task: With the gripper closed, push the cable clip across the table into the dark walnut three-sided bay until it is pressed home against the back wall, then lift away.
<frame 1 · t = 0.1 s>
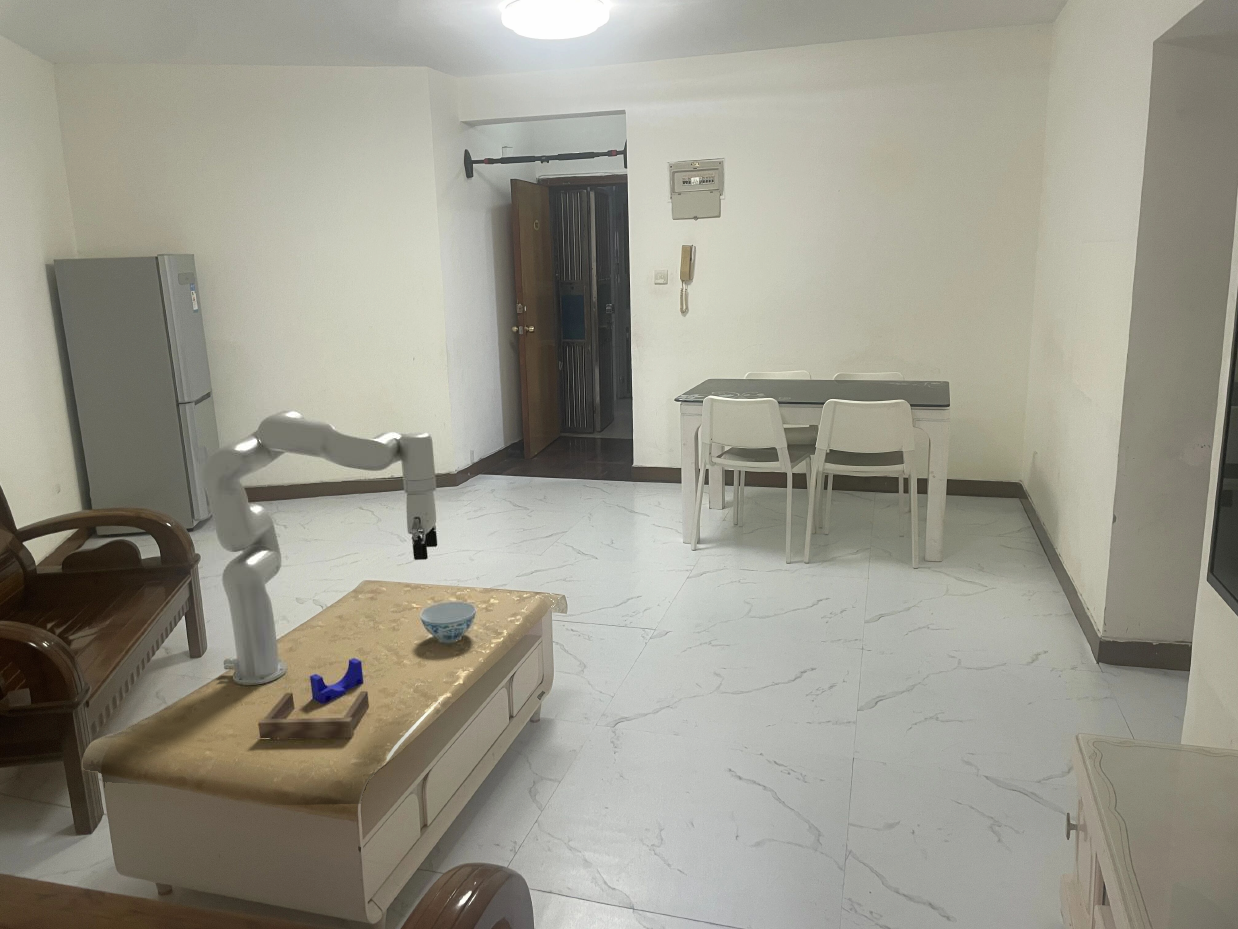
hand: (426, 552, 206), 31 cm above the table, tool pointing down, fingers open, 9 cm apart
chinaware: (450, 638, 233), on the table
cable clip: (340, 693, 204), on the table
dock bay: (318, 721, 190), on the table
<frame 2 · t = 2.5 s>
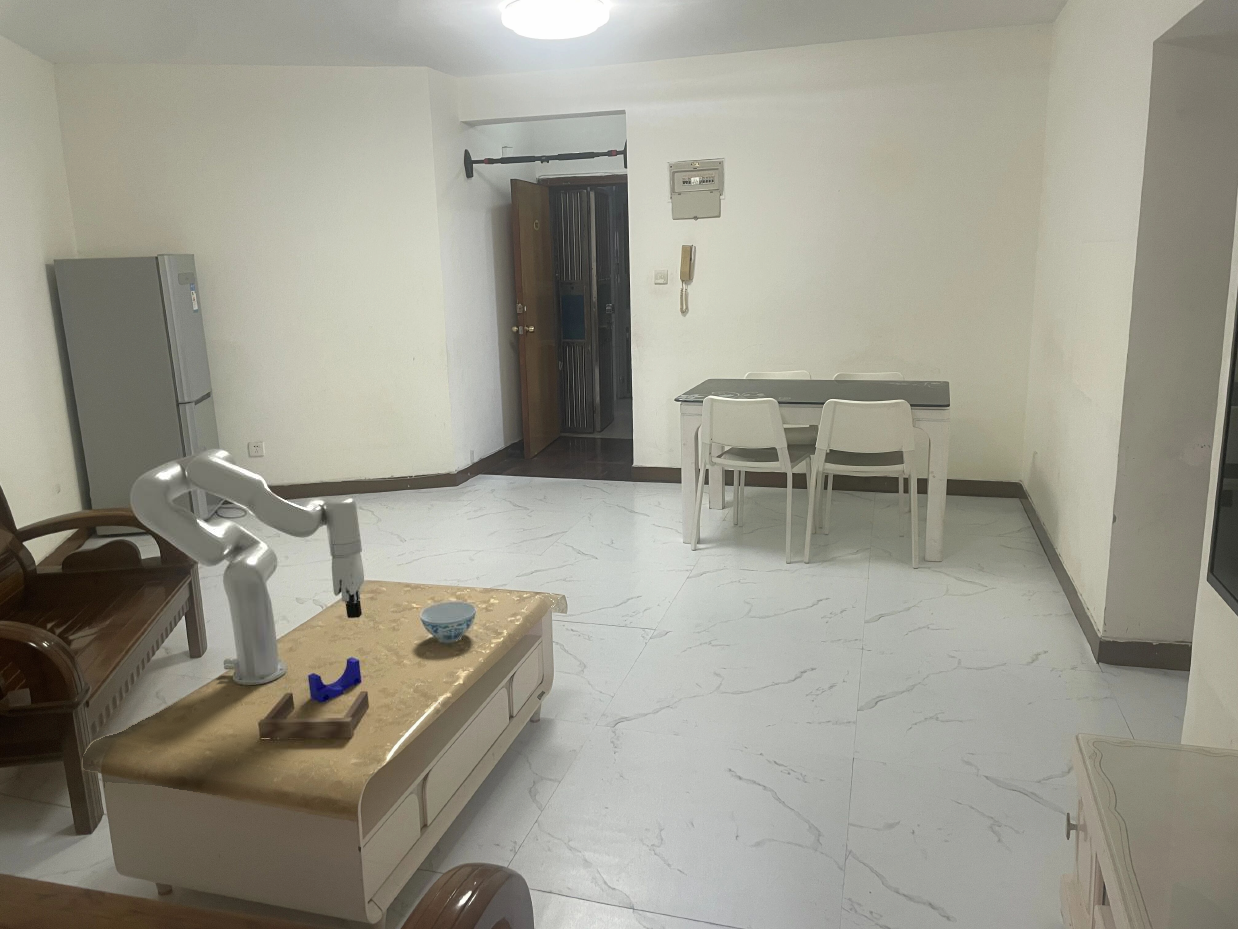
hand: (354, 616, 214), 14 cm above the table, tool pointing down, fingers closed
nothing on the table moved.
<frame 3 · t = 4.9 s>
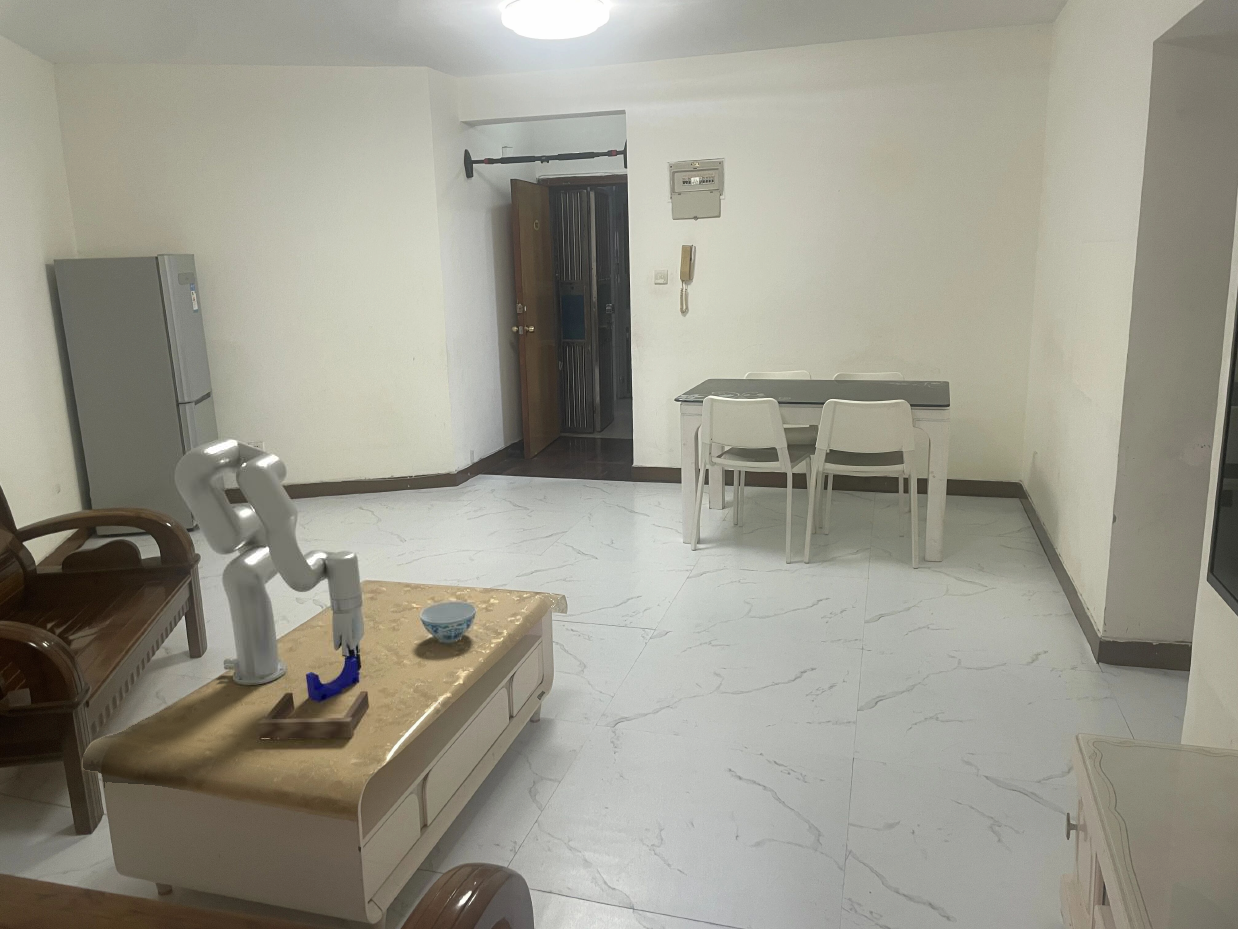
hand: (354, 670, 213), 1 cm above the table, tool pointing down, fingers closed
cable clip: (336, 691, 205), on the table, touching gripper
everything else where it was.
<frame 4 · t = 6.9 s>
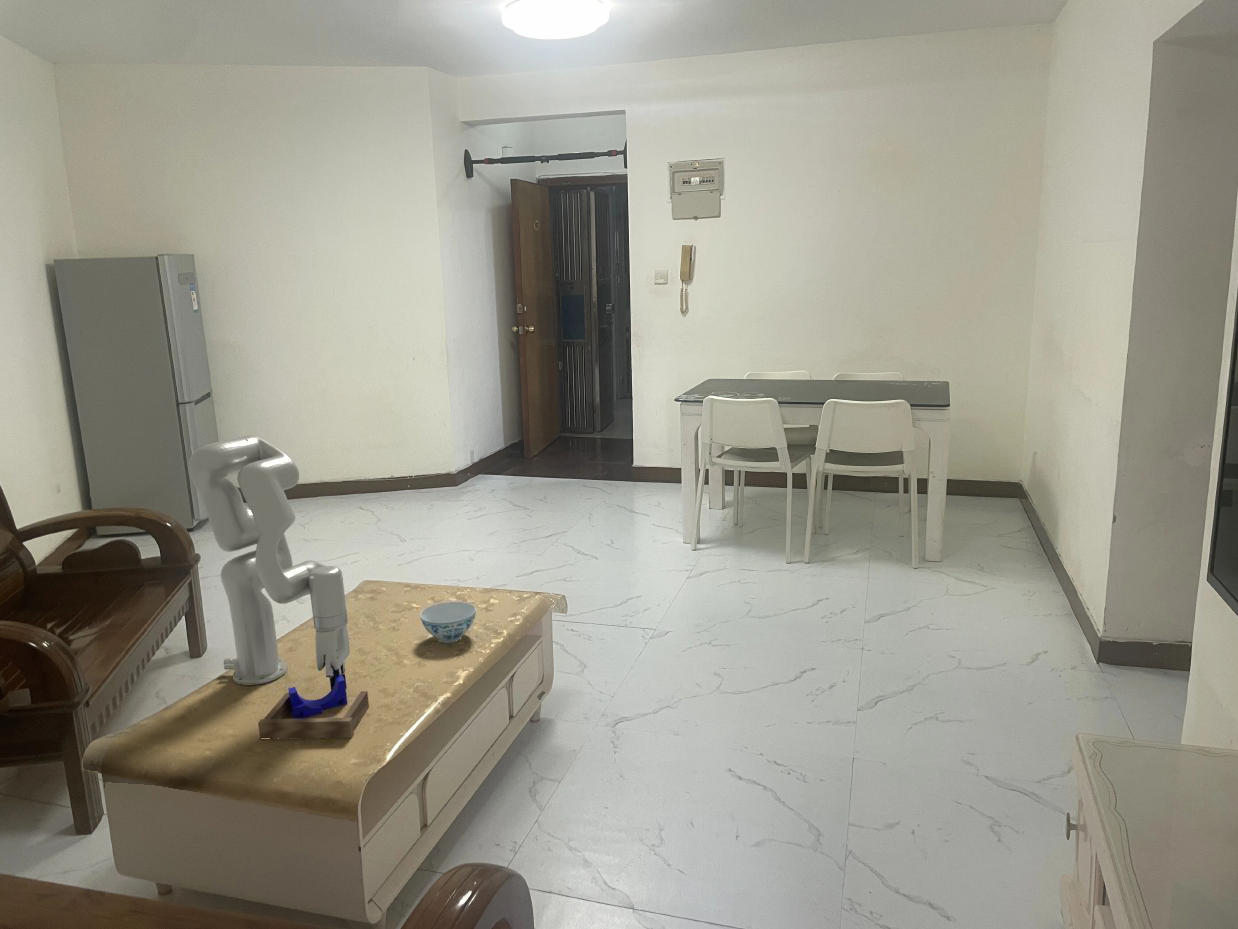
hand: (339, 690, 202), 1 cm above the table, tool pointing down, fingers closed
cable clip: (320, 710, 196), on the table, touching gripper
everything else where it was.
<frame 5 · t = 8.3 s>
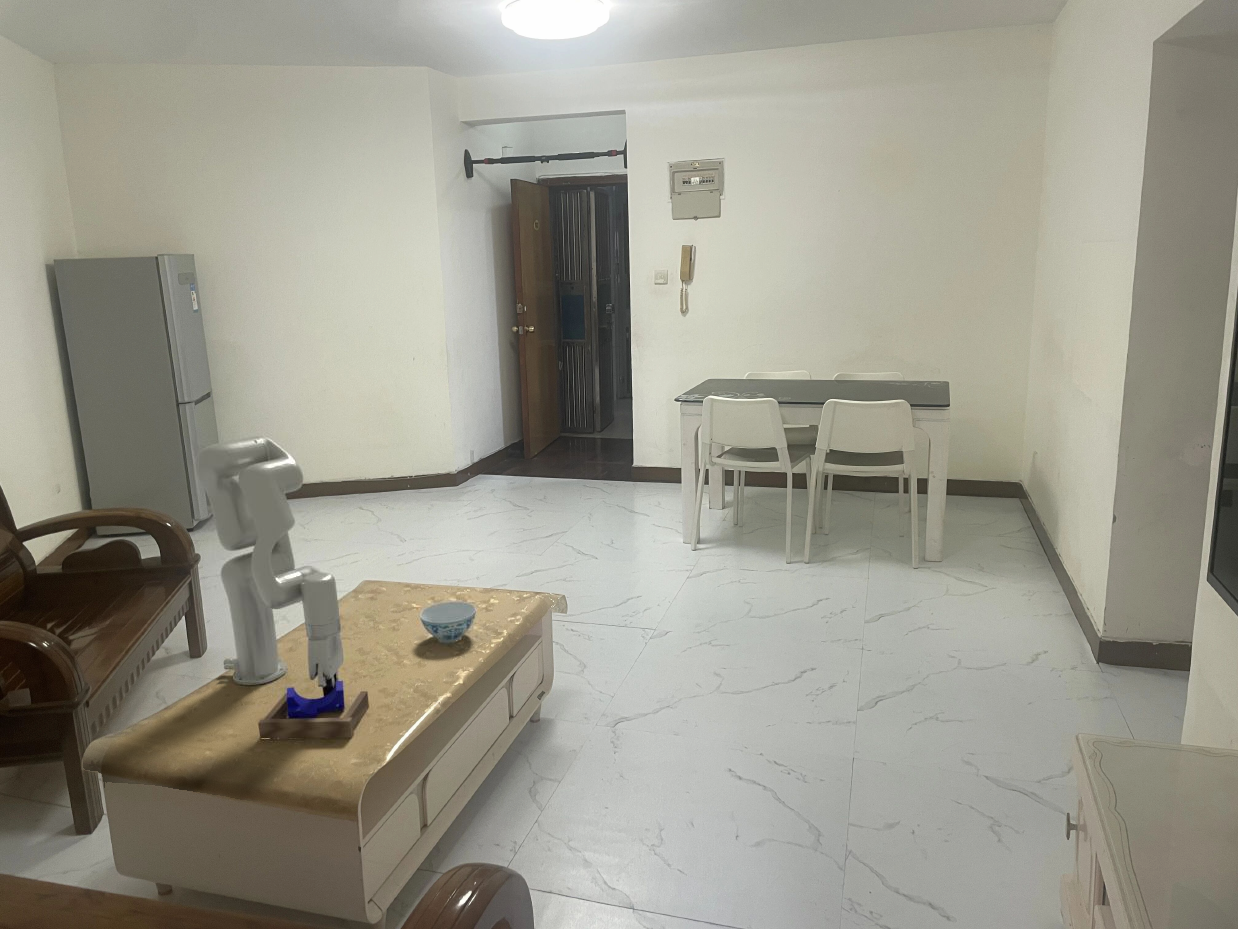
hand: (332, 700, 198), 1 cm above the table, tool pointing down, fingers closed
cable clip: (317, 711, 194), point 1 cm above the table, touching dock bay, gripper
everything else where it was.
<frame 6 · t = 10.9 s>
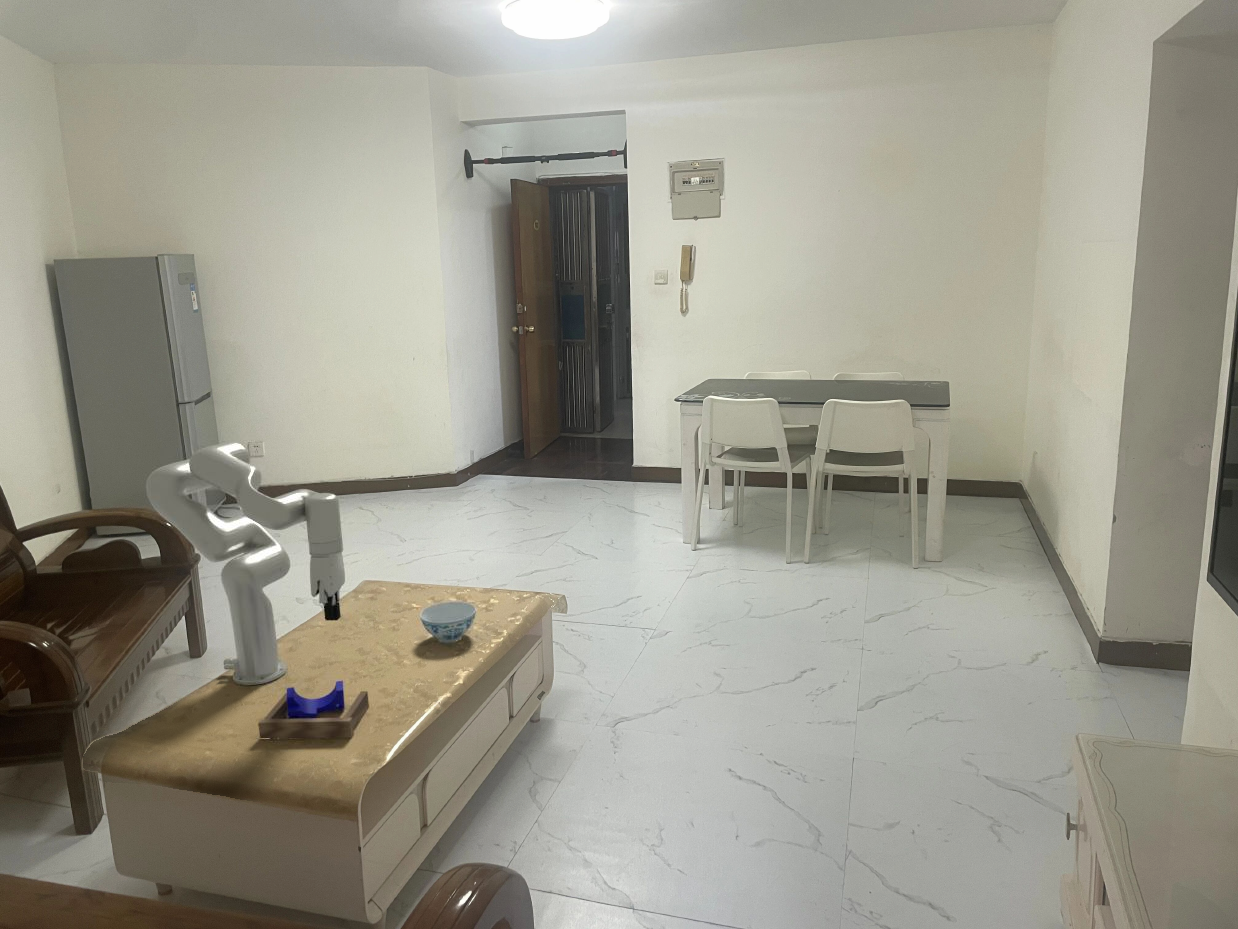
hand: (332, 619, 203), 18 cm above the table, tool pointing down, fingers closed
cable clip: (317, 711, 194), point 1 cm above the table, touching dock bay
everything else where it was.
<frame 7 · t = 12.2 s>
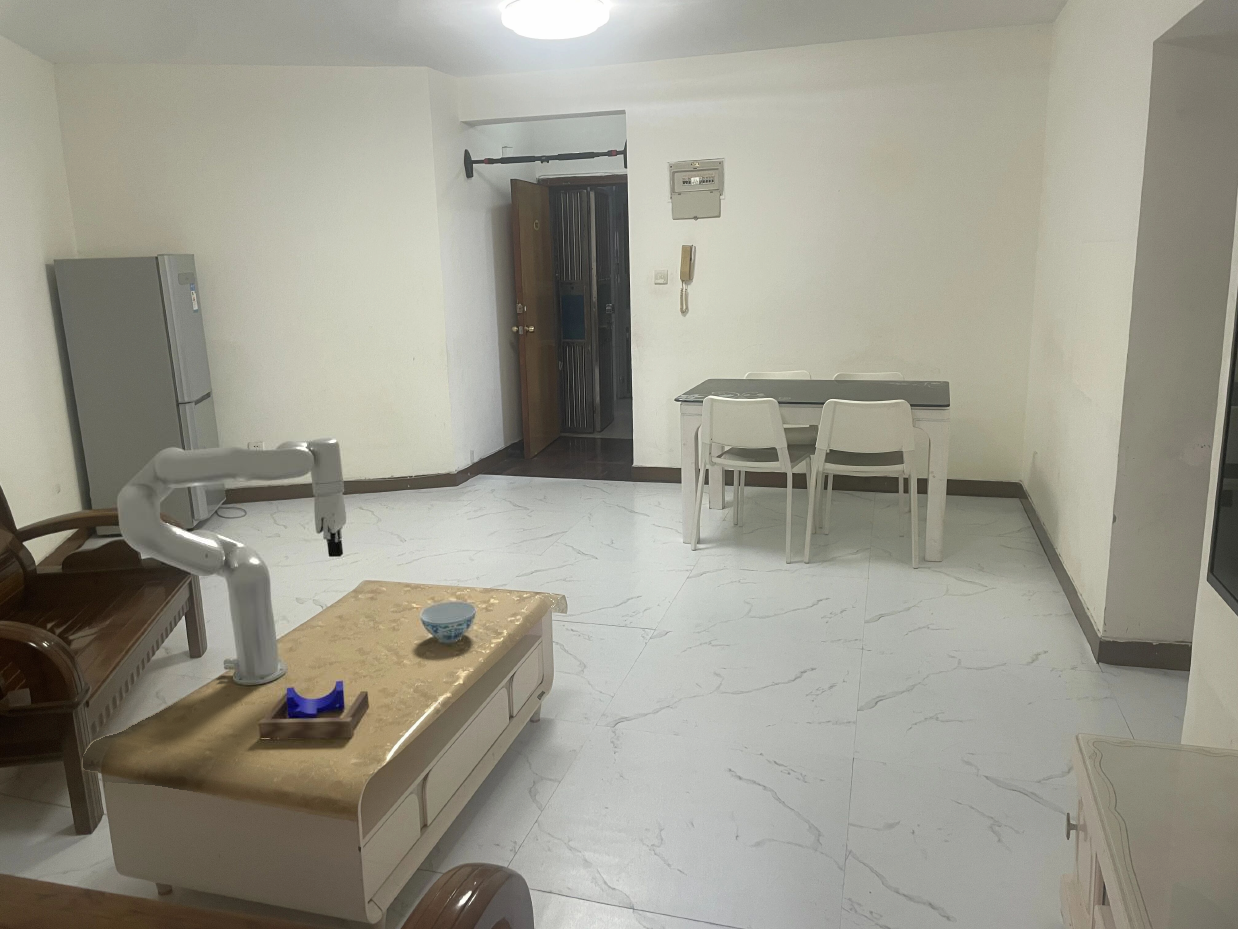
hand: (335, 555, 220), 27 cm above the table, tool pointing down, fingers closed
nothing on the table moved.
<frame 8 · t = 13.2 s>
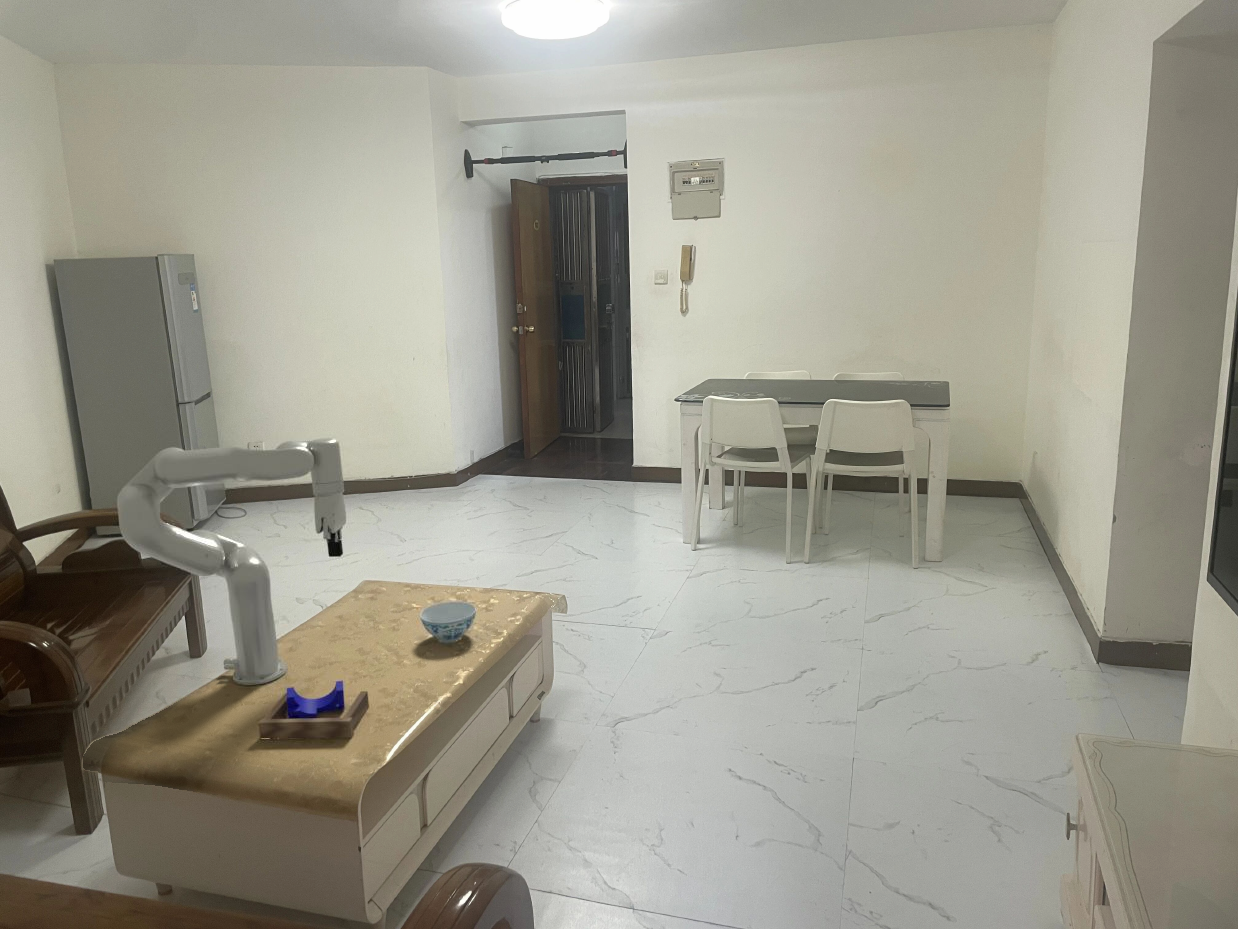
hand: (335, 555, 220), 27 cm above the table, tool pointing down, fingers closed
nothing on the table moved.
at the end: cable clip inside the target area on the dock bay (4.3 cm from its centre), point 0.5 cm above the dock bay's base; cable clip tilted 19°; cable clip moved 10.6 cm from its start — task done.
